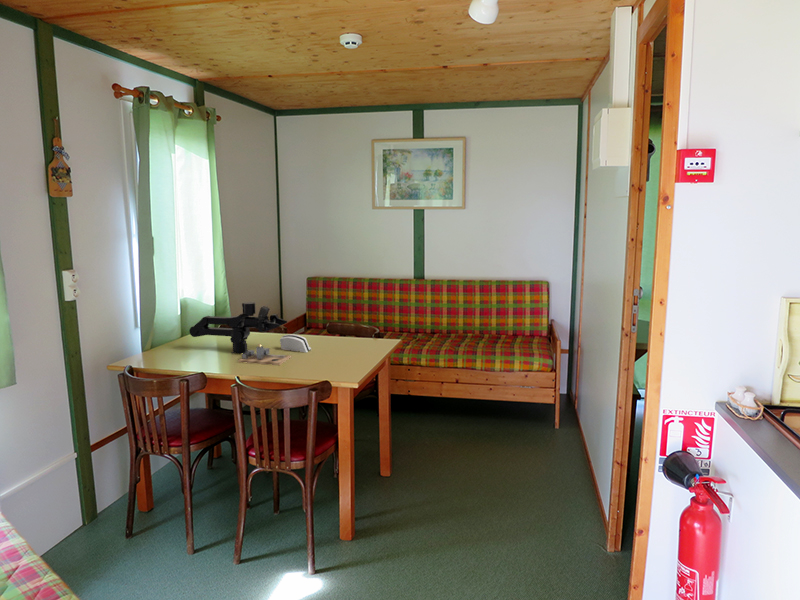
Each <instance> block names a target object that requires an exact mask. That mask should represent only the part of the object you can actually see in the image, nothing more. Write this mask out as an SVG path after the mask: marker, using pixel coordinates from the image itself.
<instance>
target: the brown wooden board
mask: <svg viewBox="0 0 800 600" xmlns="http://www.w3.org/2000/svg"><path fill="white" fill-rule="evenodd" d="M269 354H270V353H269ZM270 355H273V354H270ZM284 355H285V358H271V357H264V358H263V359H257V357H254V356H248V358H247V359H242V357H241V358H240V359H238V360H237V363H238V362H247V363H246V364H252V363H259V364H258V365H268V364H272V365H271V366H281V365H282V364H283V362H284V363H285V362H287V361H288V360H290V359H292V358H291V357H292V356H291V355H290V354H289V355H288V354H287V355H286V354H284ZM289 358H290V359H289ZM286 360H287V361H286Z"/></svg>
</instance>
